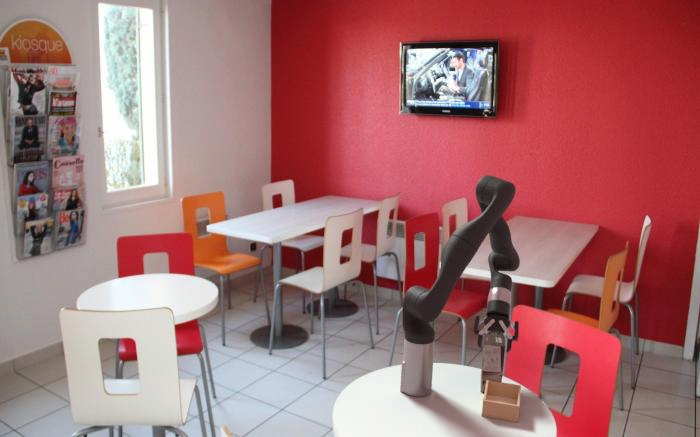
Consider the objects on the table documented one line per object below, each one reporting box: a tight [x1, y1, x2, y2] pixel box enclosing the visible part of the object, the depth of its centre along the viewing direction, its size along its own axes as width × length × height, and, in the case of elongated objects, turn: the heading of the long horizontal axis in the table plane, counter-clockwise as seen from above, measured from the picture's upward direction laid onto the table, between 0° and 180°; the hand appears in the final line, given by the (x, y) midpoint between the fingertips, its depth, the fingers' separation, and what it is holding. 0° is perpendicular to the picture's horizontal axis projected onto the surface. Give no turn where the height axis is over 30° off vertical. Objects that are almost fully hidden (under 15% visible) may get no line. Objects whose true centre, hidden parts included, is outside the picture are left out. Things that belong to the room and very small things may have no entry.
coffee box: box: [480, 333, 506, 393], centre depth 199 cm, size 9×6×16 cm
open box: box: [481, 380, 522, 423], centre depth 188 cm, size 10×13×5 cm
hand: (493, 349), depth 202 cm, fingers open, 8 cm apart
